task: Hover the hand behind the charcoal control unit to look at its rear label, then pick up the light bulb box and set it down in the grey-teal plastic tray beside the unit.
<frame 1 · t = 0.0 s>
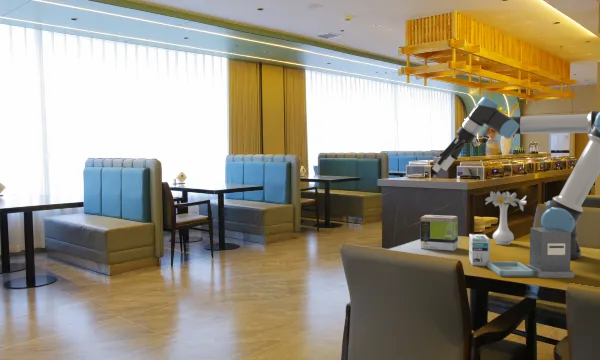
hand: (439, 169, 226), 36 cm above the table, tool tilted 35°, fingers open, 13 cm apart
light bulb box: (478, 263, 203), on the table
tray: (509, 271, 188), on the table
flower vase: (504, 244, 242), on the table
control unit: (549, 273, 185), on the table
tea box: (439, 248, 233), on the table
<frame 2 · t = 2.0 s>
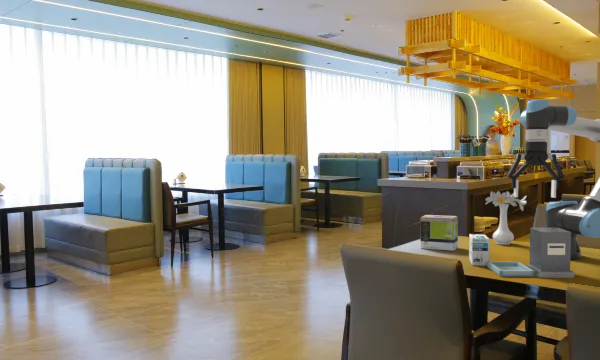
hand: (534, 197, 193), 27 cm above the table, tool pointing down, fingers open, 13 cm apart
nothing on the table moved.
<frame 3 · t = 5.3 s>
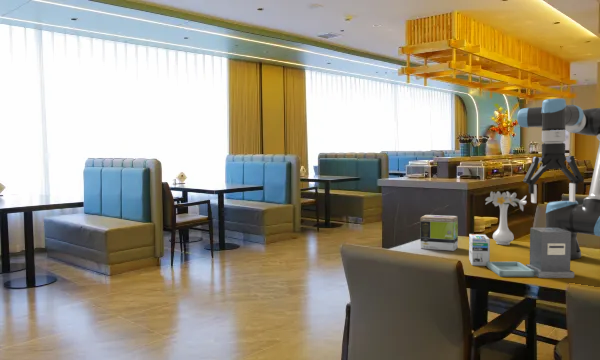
hand: (552, 202, 183), 26 cm above the table, tool pointing down, fingers open, 13 cm apart
nothing on the table moved.
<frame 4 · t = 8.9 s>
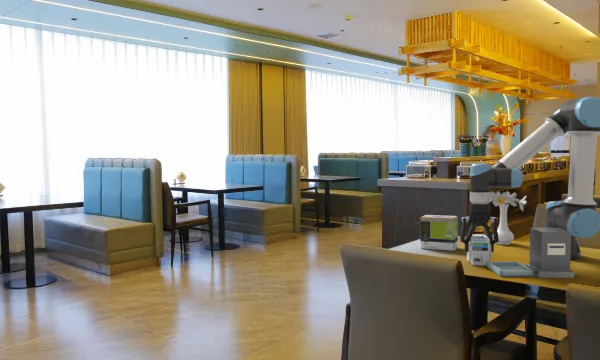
hand: (478, 260, 202), 1 cm above the table, tool pointing down, fingers closed on light bulb box, 7 cm apart
light bulb box: (478, 263, 202), on the table, touching gripper
everything else where it was.
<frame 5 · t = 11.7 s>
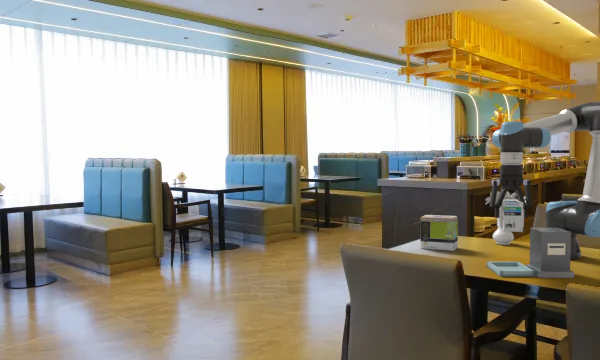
hand: (510, 226, 187), 17 cm above the table, tool pointing down, fingers closed on light bulb box, 7 cm apart
light bulb box: (510, 230, 187), point 15 cm above the table, touching gripper
everything else where it was.
when the fingers open (3 cm above the table, at t = 14.5 s): light bulb box drops 1 cm, resting on tray.
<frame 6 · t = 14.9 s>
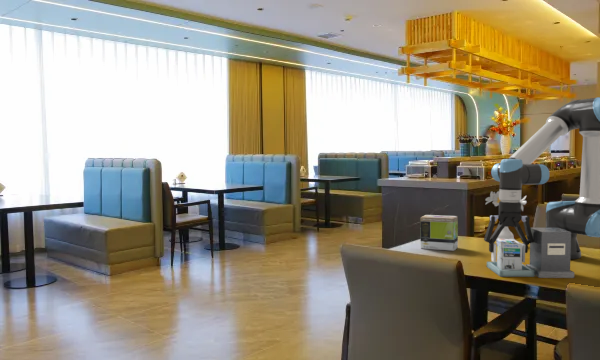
hand: (507, 261, 188), 4 cm above the table, tool pointing down, fingers open, 10 cm apart
light bulb box: (508, 270, 188), resting on tray
everything else where it was.
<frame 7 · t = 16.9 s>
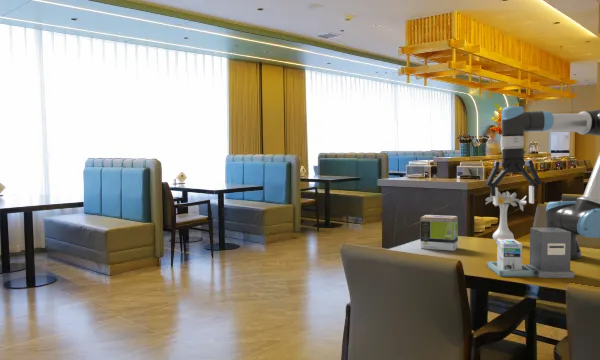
hand: (513, 203, 194), 24 cm above the table, tool pointing down, fingers open, 13 cm apart
nothing on the table moved.
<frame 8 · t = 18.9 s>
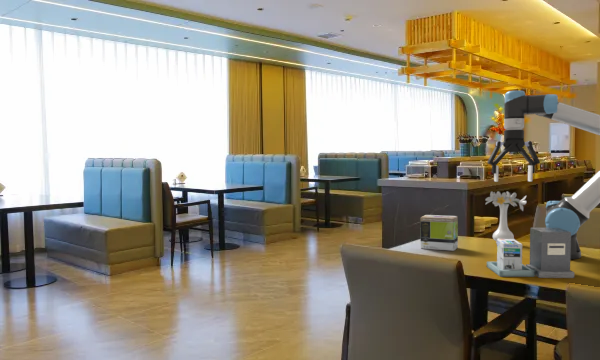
hand: (513, 181, 209), 32 cm above the table, tool pointing down, fingers open, 13 cm apart
nothing on the table moved.
at the end: light bulb box inside the target area on the tray (0.2 cm from its centre), point 0.4 cm above the tray's base; light bulb box tilted 0°; the gripper is holding nothing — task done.
